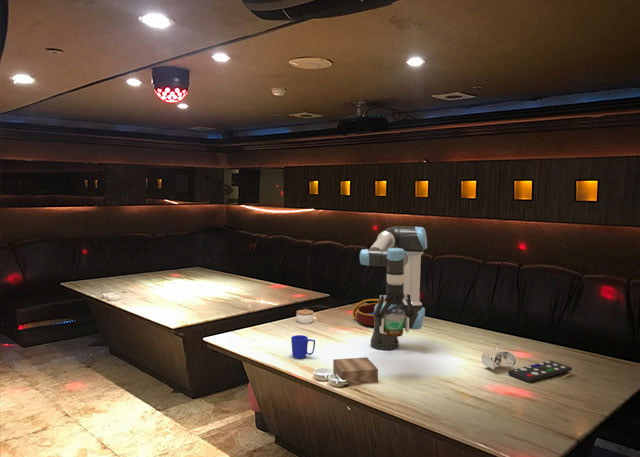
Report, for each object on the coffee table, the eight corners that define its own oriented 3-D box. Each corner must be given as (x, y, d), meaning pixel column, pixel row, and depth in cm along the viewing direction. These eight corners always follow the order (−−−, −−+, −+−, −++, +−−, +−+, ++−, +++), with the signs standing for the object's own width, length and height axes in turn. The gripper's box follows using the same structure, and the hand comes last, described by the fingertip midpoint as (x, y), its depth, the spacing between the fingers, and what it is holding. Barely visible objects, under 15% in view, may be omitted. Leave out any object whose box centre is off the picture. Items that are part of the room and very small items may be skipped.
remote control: (508, 374, 229) (508, 369, 229) (550, 363, 244) (550, 359, 244) (529, 382, 219) (529, 377, 219) (571, 370, 234) (571, 366, 234)
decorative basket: (411, 322, 319) (412, 298, 318) (389, 331, 296) (390, 306, 295) (366, 314, 339) (366, 292, 338) (342, 322, 316) (342, 299, 315)
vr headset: (492, 373, 230) (494, 350, 228) (479, 365, 238) (481, 343, 236) (515, 368, 235) (517, 345, 233) (502, 360, 243) (504, 338, 241)
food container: (385, 338, 217) (385, 316, 217) (379, 334, 223) (379, 312, 223) (410, 336, 221) (411, 314, 220) (404, 332, 227) (404, 311, 226)
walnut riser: (366, 370, 231) (367, 357, 230) (377, 382, 215) (378, 369, 215) (333, 372, 228) (333, 359, 227) (341, 385, 212) (342, 371, 212)
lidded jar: (294, 322, 316) (294, 307, 315) (310, 321, 319) (310, 306, 318) (298, 326, 305) (299, 311, 305) (315, 325, 309) (315, 310, 308)
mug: (313, 360, 243) (313, 340, 242) (289, 359, 245) (289, 339, 245) (316, 355, 251) (316, 336, 250) (293, 353, 253) (293, 334, 253)
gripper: (416, 281, 227) (415, 328, 228) (366, 282, 221) (366, 331, 223) (423, 284, 219) (422, 332, 221) (372, 285, 214) (371, 335, 216)
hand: (394, 332), depth 222 cm, fingers closed on food container, 11 cm apart
